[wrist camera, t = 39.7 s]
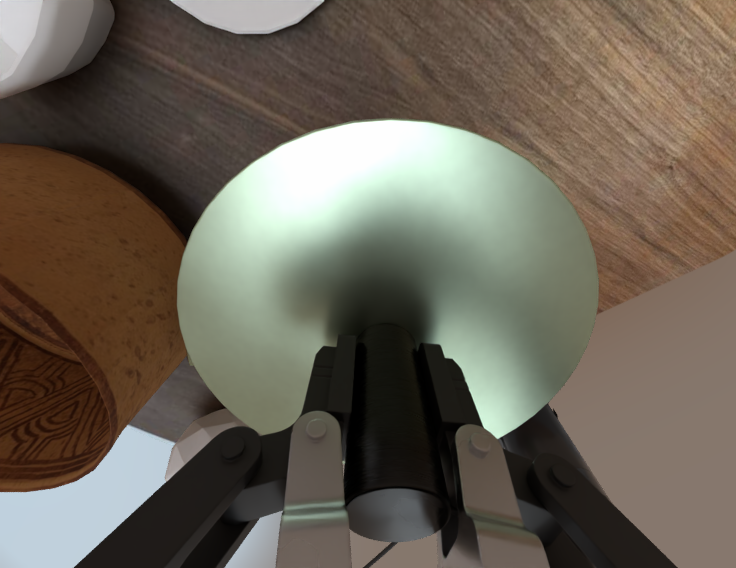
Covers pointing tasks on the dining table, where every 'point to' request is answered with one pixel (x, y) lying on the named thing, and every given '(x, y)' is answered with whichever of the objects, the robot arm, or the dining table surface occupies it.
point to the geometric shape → (200, 437)
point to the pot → (78, 312)
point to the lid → (388, 295)
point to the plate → (249, 13)
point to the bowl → (49, 39)
